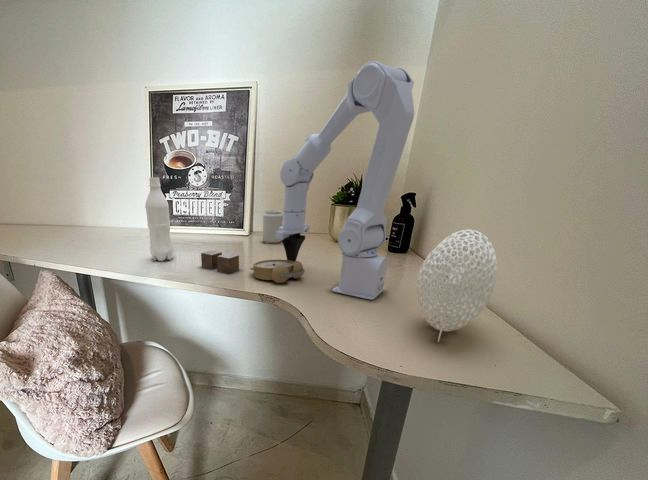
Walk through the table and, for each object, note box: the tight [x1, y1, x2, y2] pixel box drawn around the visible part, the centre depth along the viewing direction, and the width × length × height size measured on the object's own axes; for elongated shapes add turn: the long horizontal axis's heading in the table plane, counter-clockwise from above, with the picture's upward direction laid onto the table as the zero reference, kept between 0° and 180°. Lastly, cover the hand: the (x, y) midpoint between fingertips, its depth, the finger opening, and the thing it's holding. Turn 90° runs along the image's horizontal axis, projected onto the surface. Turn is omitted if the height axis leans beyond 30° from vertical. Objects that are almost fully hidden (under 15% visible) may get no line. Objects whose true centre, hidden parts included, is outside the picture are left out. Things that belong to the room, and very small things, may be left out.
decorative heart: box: [415, 228, 498, 343], centre depth 56 cm, size 18×11×17 cm, turn 141°
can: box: [262, 209, 283, 244], centre depth 130 cm, size 8×8×12 cm
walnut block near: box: [217, 252, 240, 274], centre depth 96 cm, size 4×4×4 cm
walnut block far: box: [200, 250, 223, 271], centre depth 99 cm, size 4×4×4 cm
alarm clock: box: [249, 259, 306, 284], centre depth 89 cm, size 11×5×15 cm
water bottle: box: [144, 176, 174, 262], centre depth 105 cm, size 7×7×25 cm
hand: (291, 261), depth 93 cm, fingers closed
